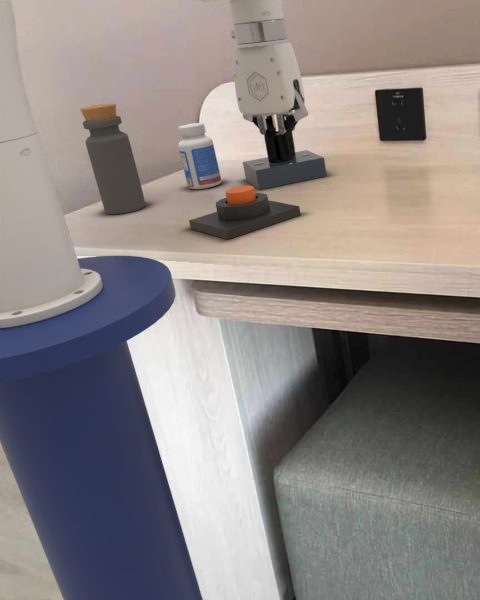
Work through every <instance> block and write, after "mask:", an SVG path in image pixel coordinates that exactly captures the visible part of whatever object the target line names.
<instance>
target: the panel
mask: <svg viewBox="0 0 480 600" xmlns="http://www.w3.org/2000/svg"><path fill="white" fill-rule="evenodd" d="M295 154H296V156H294V157H292V158H289V159H287V160H283V161H281V162H278V163H269V160H268V156H267V157H262V158H255V159H251V160H245V161H242V167H243V171H244V176H245V181H247V182H248V183H249V184H251V186H253V187H254V188H256V189H258V190H260V191H261V190H265V189H270V188H274V187H275V188H276V187H280V186H286V185H289V184H290V185H291V184H295V183H300V182H306V181H310V180H316V179H321V178H325V177H327V175H328V174H327V168H326V161H325V157H324V156H321V155H319V154H317V153H315V152H312V151H310V150H308V149H305V150H300V151H295Z"/></svg>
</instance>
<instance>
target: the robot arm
mask: <svg viewBox="0 0 480 600" xmlns="http://www.w3.org/2000/svg"><path fill="white" fill-rule="evenodd" d="M198 1H199V2H204V3H205V2H206V3H209V2H220V1H221V0H198ZM228 5H229V9H230V10H229V11H230V14H231V20H232V24H233V29H231V31H230V37H231V38H232V39H233V40H235V41H236V42H235V43H236V47H234V48H233V52H232V67H233V68H232V69H233V79H234V80H233V81H234V89H235V95H236V96H235V97H236V102H237V107H238V110H239V112H240V113H241V114H242V117H243V118H242V119H244V120H245V121H247V122H250V123H253V124H254V125H255V127H256V128H257V129H258V130H259V133H260V134H261V135H262V136H263V138H264V137H267V136H270V135H273V134H277V133H280V134H278V135H277V143H278V148H279V154H280V159H281V160H287V159H289V158H292V157H294V156H295V152H296V147H295V141H294V135H293V132H295V130H296V126H297V125H298V122H299V121H301V120H303V119H305V118H307V117H308V116H309V112H308V110H307V107H306V105H305V102H306V100H305V91H304V86H303V80H302V76H301V75H302V74H301V71H300V68H299V63H298V59H297V56H296V54H295V51H294V47H293V45H292V42H291V41H289V40H288V35H287V28H286V22H285V16H284V9H283V4H282V0H228ZM15 18H16V17H15V11H14V6H13V2H12V0H0V329H4V328H11V327H17V326H23V325H27V324H31V323H36V322H39V321H43V320H46V319H50V318H53V317H56V316H58V315H61V314H64V313H66V312H69V311H71V310H73V309H76V308H78V307H80V306H82V305H83V304H85V303H87V302H89V301H90V300H92V299H93V298H94V297H95V296H97V295H98V294H99V292H100V291H101V289H102V288H103V283H102V280H101V277H100V275H99V274H98V273H97V272H95V271H92V270H88V269H80V266H79V262H78V256H77V253H76V250H75V246H74V243H73V240H72V237H71V234H70V231H69V227H68V224H67V221H66V218H65V214H64V210H63V207H62V205H61V202H60V198H59V195H58V191H57V189H56V186H55V182H54V178H53V176H52V172H51V169H50V166H49V162H48V159H47V156H46V153H45V150H44V146H43V144H42V143H43V142H42V139H41V136H40V133H39V130H38V127H37V124H36V122H35V118H34V115H33V111H32V108H31V105H30V100H29V97H28V94H27V89H26V86H25V81H24V77H23V73H22V68H21V63H20V62H21V61H20V55H19V47H18V37H17V27H16V26H17V25H16V19H15ZM275 117H276V119H275ZM276 123H277V125H276Z"/></svg>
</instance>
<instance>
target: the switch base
mask: <svg viewBox="0 0 480 600" xmlns="http://www.w3.org/2000/svg"><path fill="white" fill-rule="evenodd" d="M255 196H256V200H254V201H250V202H247V203H241V204H228V203H227V198H226V197H223V198H220V199H219V200H217V201H216V202H215V209H216V211H215V212H211V213H207V214H205V215H201V216H198V217H196V218H192V219H189V220H188V221H189V222H188V223H189V227H190V230H193V231H197V232H199V233H200V232H201V233H202V234H203V233H204V234H207V235H211V236H214V237H216V238H217V237H218V238H221V239H225V240H231V239H235V238H237V237H240V236H243V235H245V234H249V233H252V232H254V231H257V230H260V229H264V228H266V227H269V226H273V225H276V224H279V223H281V222H284V221H288V220H290V219H293V218H296V217H299V216H301V207H300V206H299V205H295V204H290V203H284V202H279V201H273V200H269V196H268V195H267V193H264V192H255Z"/></svg>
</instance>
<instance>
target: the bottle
mask: <svg viewBox="0 0 480 600" xmlns="http://www.w3.org/2000/svg"><path fill="white" fill-rule="evenodd" d="M79 110H80V112H81V115H82V116H83V118H84V121H82V126H83V129H84V130H88V131H89V136H88V137H87V138H86V139H85V142H84V143H85V146H86V150H87V154H88V157H89V161H90V164H91V168H92V171H93V174H94V178H95V182H96V185H97V188H98V192H99V193H98V194H99V196H100V199H101V202H102V207H103V209H104V212H105V214H107V215H122V214H123V215H124V214H127V213H132V212H136V211H139V210H141V209H143V208H145V207H146V206H147V205H146V200H145V195H144V191H143V188H142V183H141V180H140V176H139V173H138V168H137V165H136V161H135V156H134V153H133V149H132V145H131V142H130V138H129V135H128V133H126V132H124V131H121V130H120V126H119V125H121V124H122V123H123V121H122V118H121V116H119V115H117V105H116V103H112V102H111V103H101V104H94V105H89V106H88V105H87V106H84V107H81V108H80V109H79Z"/></svg>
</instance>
